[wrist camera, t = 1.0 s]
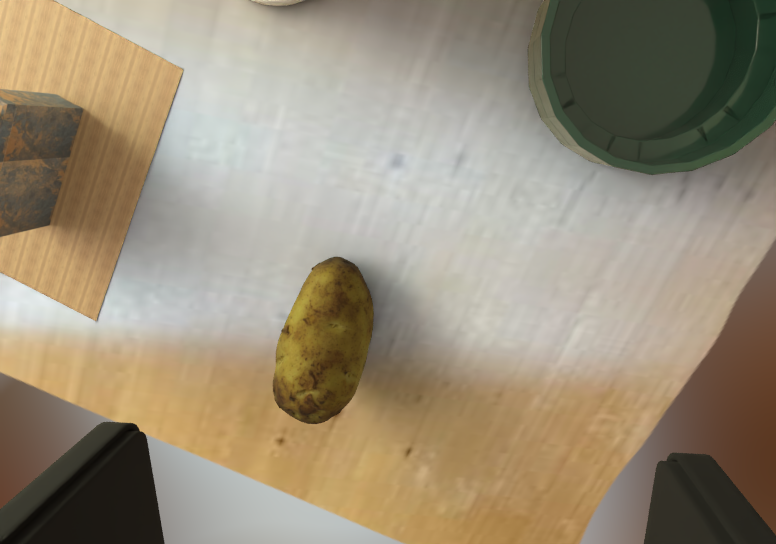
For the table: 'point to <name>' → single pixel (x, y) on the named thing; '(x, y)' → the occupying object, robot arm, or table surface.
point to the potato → (324, 343)
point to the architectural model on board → (72, 146)
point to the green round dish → (654, 79)
